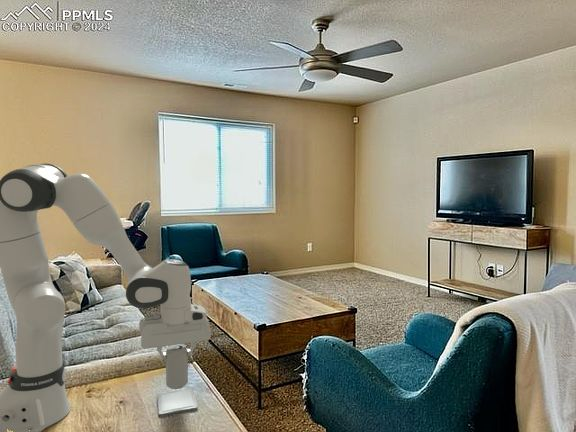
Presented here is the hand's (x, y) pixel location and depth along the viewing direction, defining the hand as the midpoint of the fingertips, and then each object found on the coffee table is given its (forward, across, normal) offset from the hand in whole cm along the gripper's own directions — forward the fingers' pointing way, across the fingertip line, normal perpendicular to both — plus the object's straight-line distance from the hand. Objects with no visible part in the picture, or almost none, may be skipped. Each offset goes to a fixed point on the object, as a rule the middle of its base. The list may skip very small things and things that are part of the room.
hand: (176, 357), depth 119 cm
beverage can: (+9, 0, 0) cm, 9 cm away
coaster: (+15, 0, 0) cm, 15 cm away
